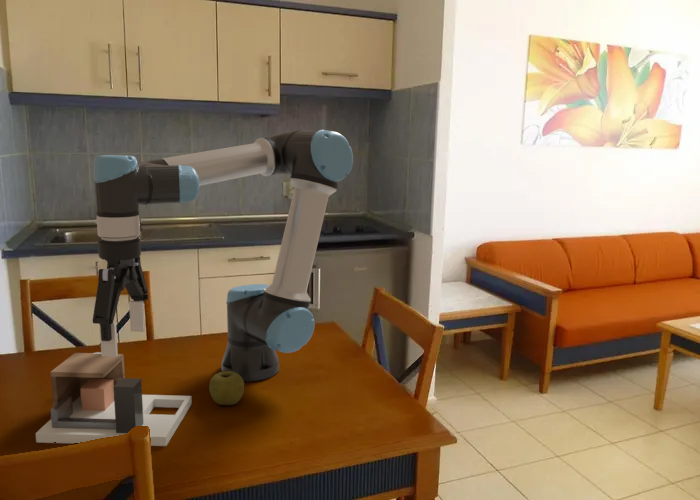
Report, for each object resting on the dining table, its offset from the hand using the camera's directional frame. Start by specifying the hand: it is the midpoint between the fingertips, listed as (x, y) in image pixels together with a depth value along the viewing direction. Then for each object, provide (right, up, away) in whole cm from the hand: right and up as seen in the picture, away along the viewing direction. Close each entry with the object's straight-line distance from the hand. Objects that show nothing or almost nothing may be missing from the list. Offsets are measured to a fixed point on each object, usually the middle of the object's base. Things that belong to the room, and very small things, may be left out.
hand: (124, 342), depth 110 cm
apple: (+16, -18, +20) cm, 31 cm away
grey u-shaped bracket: (-7, -18, +5) cm, 20 cm away
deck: (-5, -19, +10) cm, 22 cm away
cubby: (-13, -16, +13) cm, 24 cm away
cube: (-11, -16, +13) cm, 23 cm away
